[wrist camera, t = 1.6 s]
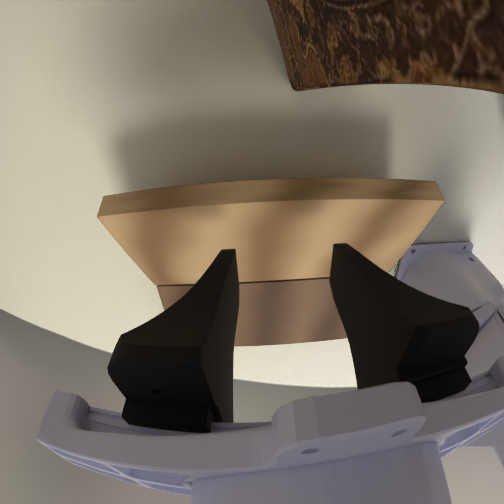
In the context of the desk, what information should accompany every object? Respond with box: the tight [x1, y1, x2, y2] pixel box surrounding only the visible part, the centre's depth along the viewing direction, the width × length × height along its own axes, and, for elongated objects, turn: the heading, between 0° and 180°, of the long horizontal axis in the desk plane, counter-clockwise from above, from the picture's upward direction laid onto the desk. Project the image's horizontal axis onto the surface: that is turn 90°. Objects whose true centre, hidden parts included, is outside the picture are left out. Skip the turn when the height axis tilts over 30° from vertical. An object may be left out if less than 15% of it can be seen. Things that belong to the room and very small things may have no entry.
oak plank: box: [97, 178, 445, 285], centre depth 18 cm, size 20×10×2 cm
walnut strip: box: [157, 277, 347, 346], centre depth 25 cm, size 20×8×2 cm, turn 93°
